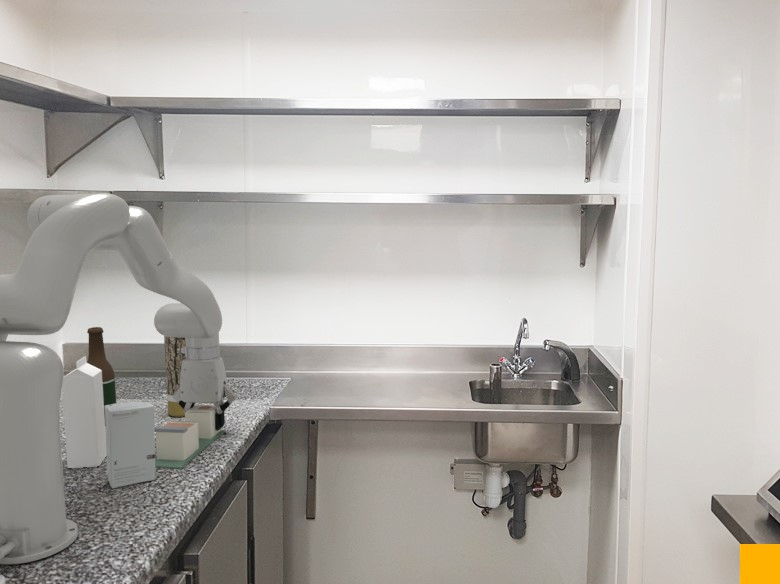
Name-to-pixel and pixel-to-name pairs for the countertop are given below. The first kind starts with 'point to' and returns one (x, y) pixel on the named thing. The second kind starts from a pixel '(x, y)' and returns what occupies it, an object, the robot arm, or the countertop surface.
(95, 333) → the beer bottle
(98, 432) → the milk
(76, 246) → the robot arm
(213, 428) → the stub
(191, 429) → the lidded cream box
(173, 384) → the paper tube
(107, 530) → the countertop surface
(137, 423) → the skincare box
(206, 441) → the mat
